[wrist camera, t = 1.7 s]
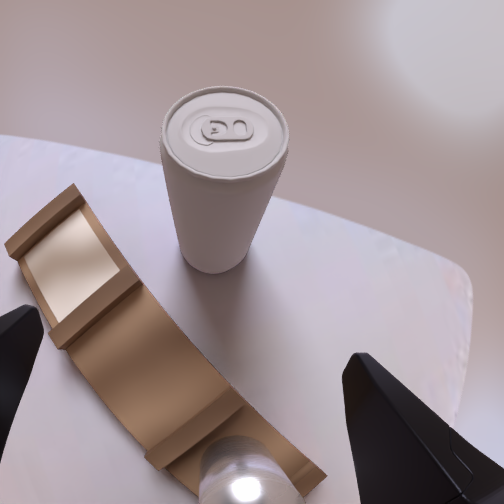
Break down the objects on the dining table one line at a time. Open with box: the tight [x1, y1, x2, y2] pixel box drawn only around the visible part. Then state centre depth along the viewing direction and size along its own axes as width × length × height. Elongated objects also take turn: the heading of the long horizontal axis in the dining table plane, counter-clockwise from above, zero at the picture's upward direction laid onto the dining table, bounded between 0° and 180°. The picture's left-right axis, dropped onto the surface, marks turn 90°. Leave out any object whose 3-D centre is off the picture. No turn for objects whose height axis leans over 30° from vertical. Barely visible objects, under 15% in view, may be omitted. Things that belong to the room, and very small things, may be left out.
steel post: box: [199, 435, 306, 504], centre depth 12 cm, size 5×5×7 cm
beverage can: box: [160, 86, 289, 274], centre depth 16 cm, size 5×5×12 cm
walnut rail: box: [4, 183, 327, 497], centre depth 17 cm, size 26×7×3 cm, turn 42°
